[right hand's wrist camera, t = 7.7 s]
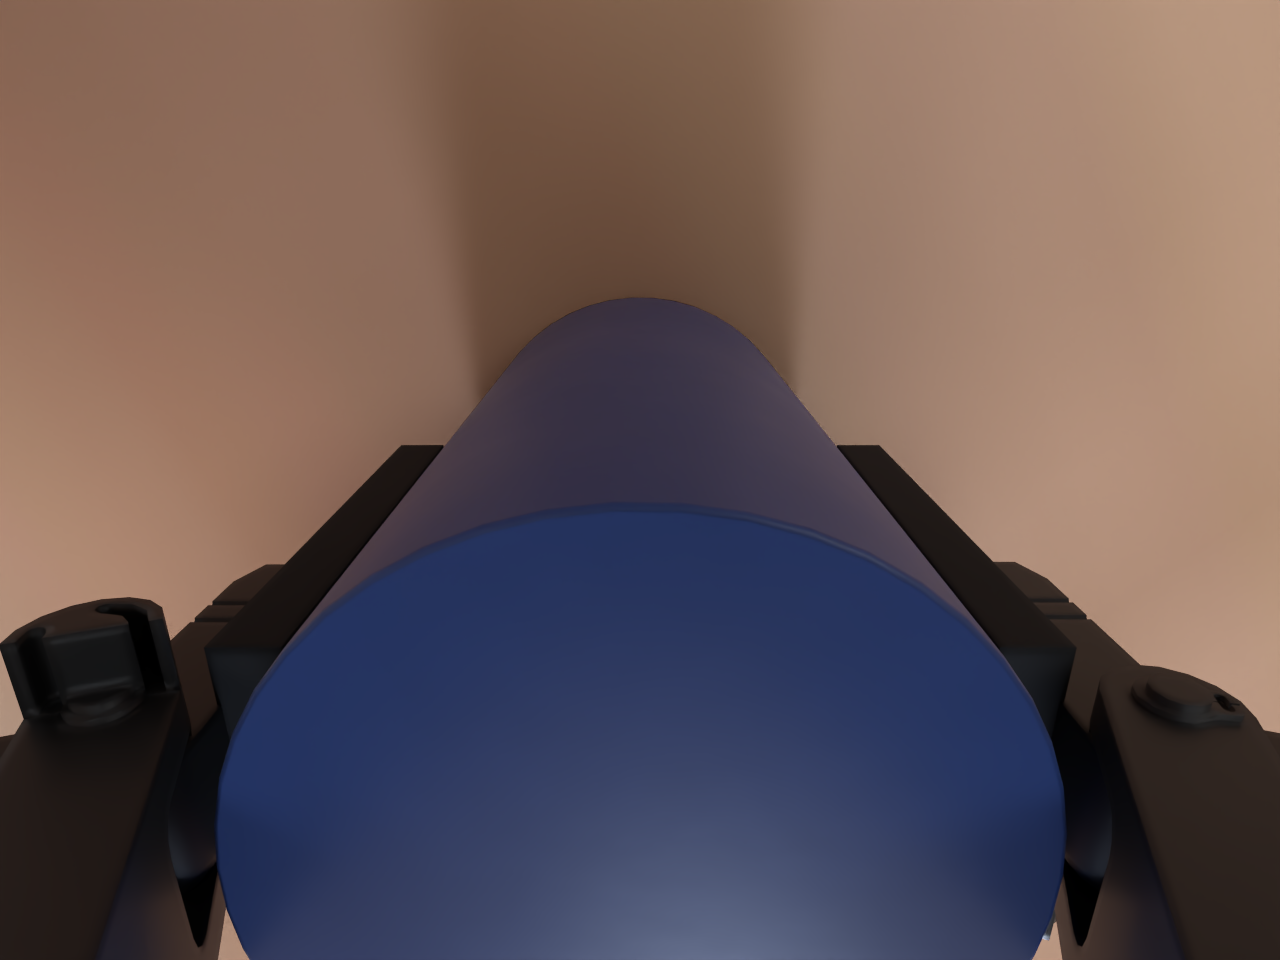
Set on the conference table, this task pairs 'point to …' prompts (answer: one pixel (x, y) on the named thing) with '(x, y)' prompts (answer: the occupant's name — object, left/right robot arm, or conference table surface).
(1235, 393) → the conference table surface
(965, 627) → the canister
